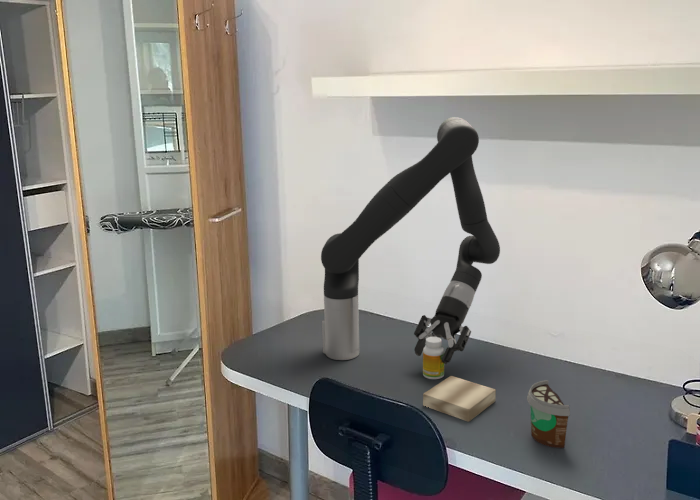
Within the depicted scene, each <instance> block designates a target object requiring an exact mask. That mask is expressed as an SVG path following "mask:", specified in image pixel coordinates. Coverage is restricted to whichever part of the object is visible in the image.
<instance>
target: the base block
mask: <svg viewBox="0 0 700 500" xmlns="http://www.w3.org/2000/svg"><path fill="white" fill-rule="evenodd" d="M496 391H497V390H496V389H495V388H492V387H490V386H485V385H482V384H479V383H476V382H472V381H469V380H466V379H463V378H460V377H456V376H453V375H450V376H449V377H447V378H445V379H444V380H441V382H439V383H438V384H435V385H434V386H433V387H432V388H430V389H429V390H427V391H424V392H423V394H422V406H423V407H425V406H426V408H428V407H429V409H432V410H435V411H438V412H440V413H443V414H446V415H449V416H450V417H451V416H452V417H455V418H456V419H460V420H462V421H464V422H468V423H469V422H471V421H472V420H473V419H475V417H477V416H478V415H479V414H481V413H482V412H484V411H485V410H486V409H488V408H489V407H490V406H491V405H492V404H494V403H496V395H497V394H496V393H497V392H496Z"/></svg>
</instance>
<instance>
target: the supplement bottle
mask: <svg viewBox="0 0 700 500" xmlns="http://www.w3.org/2000/svg"><path fill="white" fill-rule="evenodd" d="M442 339H443V338H439V337H428V338H426V343H425V344H426V345H425V347H424V348H423V351H422V375H423V377H424V378H426V379H429V380H440V379H442V378H443V377H444V376H445V364H444V363H443V362H442V357H443V355H444V353H445V351H446V350H445V348H444V347H443V340H442Z"/></svg>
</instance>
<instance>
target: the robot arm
mask: <svg viewBox="0 0 700 500" xmlns="http://www.w3.org/2000/svg"><path fill="white" fill-rule="evenodd" d="M436 139H437V140H436V141H437V143H436V145H434V146H433V148H432V149H431V150H430V151H428V153H427V154H426V155H425V156H424V157H423V158H422V159H421V160H419V161H417V162H416V163H415V164H413V165H411V166H409V167H407V168H406V169H404V170H402V171H400V172H399V173H397V174H396V175H394V176H393V177H391V179H390V180H388V181H387V183H385V184H384V185H383V186H382V187H381V188H380V189H379V191H377V192H376V194H374V196H372V198H371V199H370V200H369V202H368V203H367V204H366V206H365V207H364V208H363V209H362V211H361V212H360V214H359V215H357V216H358V217H357V218H355V220H354V221H353V222H352V223H350V225H349V226H348V227H347V228H346V229H345V230H343V231H342V232H340V233H334V234H333V235H331V236H330V237H329V238H328V239H327V240H326V241H325V243H324V245H323V247H322V249H321V252H320V253H321V254H320V261H321V264H322V266H323V268H324V280H323V281H324V282H323V307H324V309H323V310H324V314H323V315H324V319H322V321H321V327H322V328H321V330H322V333H321V334H322V335H321V336H322V337H321V338H322V353H323V354H325V355H326V357H328V358H329V359H331V360H335V361H347V360H352V359H355V358H357V357H358V356H359V355H360V325H359V324H360V320H359V319H360V315H359V311H360V310H359V280H360V279H359V278H360V277H359V275H360V274H359V273H360V269H359V267H360V264H359V263H360V260H359V259H361V257H362V256H363V255H364V254H365V253H366V251H367V250H368V249H369V248H370V247H371V246H372V245H373V244H374V243H375V242H376V241H377V240H378V239H379V238H381V237H382V236H383V235H384V234H387V232H388V231H389V230H390V229H392V228H394V226H395V225H396V224H398V223H399V222H400V221H401V220H402V219H403V218H404V217H406V216H407V215H408V214H409V213H410V212H411V211H412V210H413V209H414V208H415V207H416V206H417V205H418V204H419V203H420V202H421V200H423V199H424V198H425V197H426V196H427V195H429V193H430V192H431V191H432V190H433V189H434V188H435V187H436V186H437V185H438V184H439V183H440V182H441V181H442V180H443V179H444V178H446V177H447V176H448V175H449V174H450V177H451V183H452V187H453V192H454V198H455V203H456V208H457V214H458V218H459V221H460V226H461V229H462V230H463V231H464V232H465V233H467V234H468V235H469V234H470V235H469V236H465V238H463V239H462V240H461V243H460V244H459V248H458V256H457V262H456V266H455V267H456V268H455V270H454V273H453V275H452V277H451V279H450V282H449V283H448V284H447V287H446V288H445V290H444V293H443V294H442V297H441V299H440V301H439V303H438V305H437V308H436V310H435V314H434V316H433V317H427V316H426V315H425V314H424V315H422V316H421V318H420V319H419V321H418V324H417V326H416V328H415V331H414V332H413V335H414V336H415V338H417V340H418V341H417V342H416V344H415V346H414V354H415V355H416V356H417V357H421V355H423V348H424V347H425V346H426V338H428V337H439V338H441V339H444V340H446V341H447V345H448V347H446V348H445V350H444V351H445V353H444V355H443V357H442V362H443V363H444V365H448V363H450V362H451V361H452V358H453V357H454V354H455V352H457V351H459V352H463V351H464V349H465V347H466V345H467V343H468V341H469V339H470V336H471V333H472V330H471V329H470V327H468V325H464V326H462V324H464V321H465V319H466V317H467V314H468V313H469V311H470V308H471V307H472V305H473V304H472V303H473V301H474V297H475V294H476V292H477V290H478V287H479V285H480V283H481V282H482V281H481V280H482V278H483V276H482V275H483V274H482V272H481V270H480V269H478V267H476V266H474V265H473V263H479V264H486V265H492V264H494V263H496V262H497V260H498V259H499V257H500V254H501V246H500V242H499V240H498V237H497V236H496V233H495V231H494V230H493V227H492V226H491V224H490V221H489V220H488V216H487V210H486V204H485V200H484V195H483V193H482V190H481V187H480V184H479V182H478V177H477V175H476V171H475V167H474V163H473V155H474V153H475V152H476V151H477V149H478V147H479V142H480V140H479V139H480V138H479V133H478V132H477V130H476V129H475V128H474V127H473V126H472V125H471V124H470V123H469V122H468V121H467V120H466V119H464V118H461V117H457V116H452V117H449V118H447V119H445V120H443V121H442V122H441V124H440V125H439V128H438V129H437V133H436ZM458 333H460V334H459V337H458V339H457V341H456V335H457V334H458Z"/></svg>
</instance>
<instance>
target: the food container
mask: <svg viewBox="0 0 700 500" xmlns="http://www.w3.org/2000/svg"><path fill="white" fill-rule="evenodd" d="M526 401H527V403H528V404H529V405H530V433H531V437H532V438H533V440H535V442H537V443H539V444H541V445H543V446H547V447H551V448H556V449H559V448H560V449H563V448H565V445H566V436H567V427H568V420H569V416H571V414H570V413H571V411H570V410H571V409H570V405H569V404H564V402H563V400H561V398H560V396H559V395H558V393H556V392H555V391H554V390H553V389H552V388H551V386H550V385H549V380H548V379H547V380H541V381H538V382H535V383H533V384H532V385H531V387H530V389H529V391H528V393H527V397H526Z"/></svg>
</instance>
